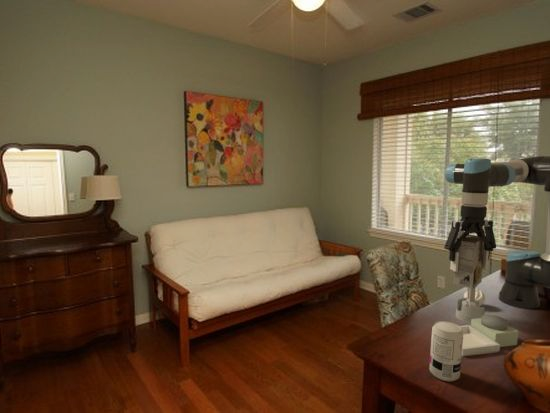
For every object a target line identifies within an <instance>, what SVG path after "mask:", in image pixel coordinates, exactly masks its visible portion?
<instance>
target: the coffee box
mask: <svg viewBox="0 0 550 413" xmlns="http://www.w3.org/2000/svg"><path fill="white" fill-rule="evenodd" d="M457 240H459V238H457ZM457 252H459V259H458V272H455V271H453V285H456V286H459V287H463V288H467V289H468V288H471V289H473V288H475V287H476V286H477V285H478V286H479V285H481V283H482V278H483V269H482V268H483V256H484V238H481V237H478V236H477V235H474V234H469V235H468V236H466V238H465V239H462V240H461V246H460V247H459V249H458V250H457ZM478 286H477V287H478ZM477 287H476V288H477Z"/></svg>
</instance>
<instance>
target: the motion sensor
mask: <svg viewBox="0 0 550 413" xmlns="http://www.w3.org/2000/svg"><path fill="white" fill-rule="evenodd" d="M467 293H468V290H466V291H465V292H464V294H463V298H467ZM485 298H486V295H485V294H484V292H483V290H481V289H479V288H477V287H476V288H475V299H476V300H478V301H479V305H480V307H481V306H482V305H483V304H484V303H485V300H486V299H485Z"/></svg>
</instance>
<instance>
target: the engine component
mask: <svg viewBox="0 0 550 413" xmlns="http://www.w3.org/2000/svg"><path fill="white" fill-rule="evenodd" d="M477 287H479V284H478V285H477V286H476V287H475V288H476V289H477ZM475 288H473V289H471V288H467V291H468V293H467V298H464V297H460V298H459V297H458V299H457V303H456V307H455V317H456V318H457V319H458V320H460V321H462V322H464V321H465V323H468V322H469V323H468V324H471V319H478V318H481V317H482V316H483V315H486V314H485V313H486V312H485V311H486V310H485V309H486V308H485V307H483V306H482V307H481V306H480V305H479V301H478V300H476V299H475Z"/></svg>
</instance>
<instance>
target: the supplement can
mask: <svg viewBox="0 0 550 413" xmlns="http://www.w3.org/2000/svg"><path fill="white" fill-rule="evenodd" d="M460 326H461V325H458V324H457V323H454V322H451V321H447V320H446V321H445V320H441V321H440V320H439V321H435V323H434V325H433V326H432V327H431V328H432V330H431V340H430V351H429V352H430V354H429V355H430V356H429V371H430V373H431V374H432V375H433V376H434V377H435V378H437V379H439V380H441V381H444V382H455V381H457V380H458V379H460V377H461V368H462V366H461V365H462V358H463V356H462V345H463V332H462V330H461V328H460Z"/></svg>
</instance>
